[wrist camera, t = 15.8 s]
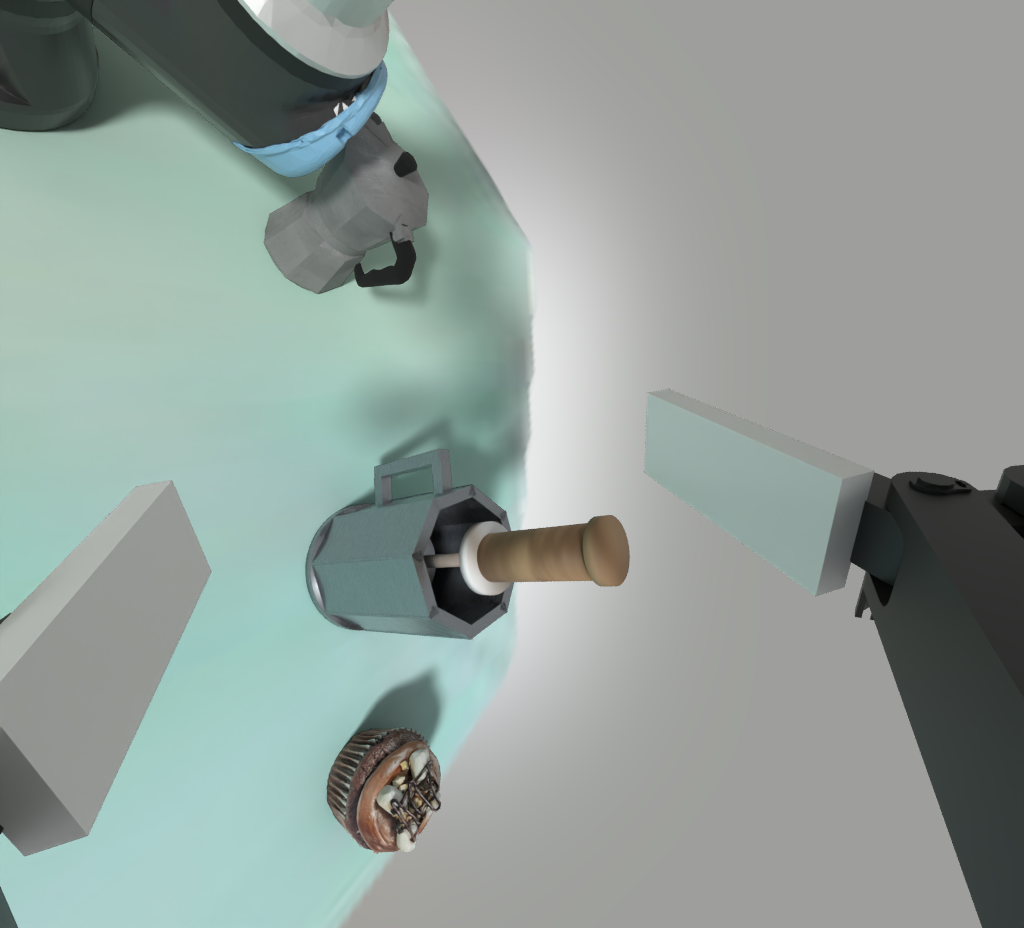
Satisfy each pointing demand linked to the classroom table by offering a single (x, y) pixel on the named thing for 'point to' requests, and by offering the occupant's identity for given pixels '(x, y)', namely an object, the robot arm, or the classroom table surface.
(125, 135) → the classroom table surface
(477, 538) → the plunger
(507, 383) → the classroom table surface
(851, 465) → the robot arm
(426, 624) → the press carafe
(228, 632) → the classroom table surface
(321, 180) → the coffeepot
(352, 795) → the cupcake
